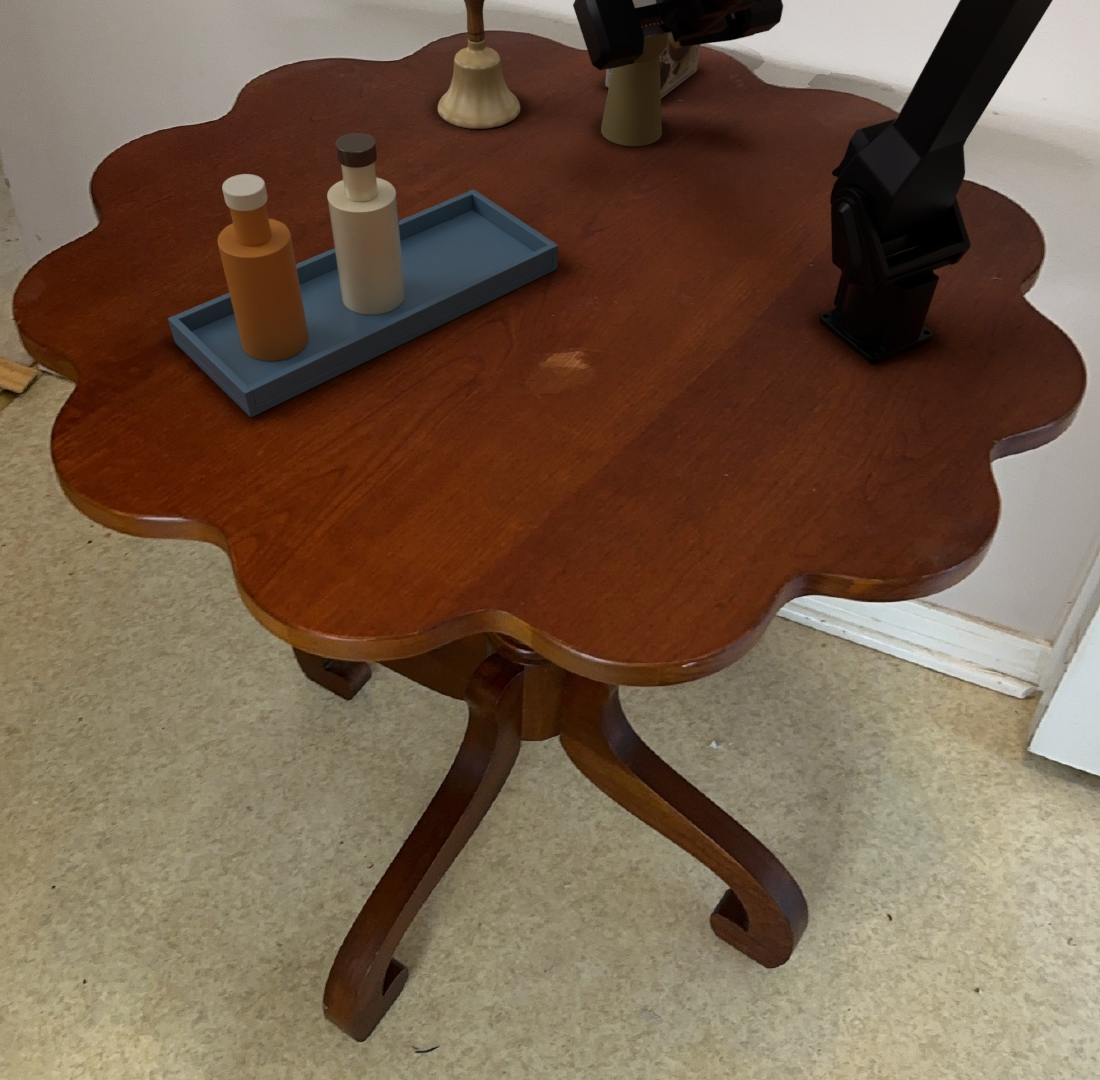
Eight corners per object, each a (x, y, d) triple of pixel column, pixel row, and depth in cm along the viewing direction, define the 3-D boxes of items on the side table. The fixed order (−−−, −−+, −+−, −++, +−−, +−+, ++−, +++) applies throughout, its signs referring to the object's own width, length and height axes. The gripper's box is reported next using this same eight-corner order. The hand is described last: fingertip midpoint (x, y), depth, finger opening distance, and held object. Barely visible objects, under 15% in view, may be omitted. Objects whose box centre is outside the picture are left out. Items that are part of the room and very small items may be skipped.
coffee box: (657, 105, 111) (674, -67, 99) (603, 87, 113) (613, -83, 101) (699, 71, 116) (720, -96, 104) (646, 56, 118) (661, -110, 106)
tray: (474, 212, 97) (473, 188, 95) (557, 269, 91) (558, 245, 89) (174, 342, 84) (167, 318, 82) (250, 418, 78) (244, 393, 76)
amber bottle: (319, 348, 82) (292, 192, 73) (256, 369, 80) (220, 212, 71) (293, 313, 85) (265, 158, 75) (232, 333, 83) (194, 176, 74)
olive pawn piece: (657, 149, 105) (669, 33, 97) (595, 142, 106) (602, 26, 97) (666, 120, 109) (677, 6, 101) (606, 112, 110) (613, -1, 101)
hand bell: (459, 136, 106) (452, -39, 94) (424, 100, 110) (412, -71, 99) (535, 118, 108) (537, -54, 97) (497, 83, 113) (494, -85, 101)
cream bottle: (416, 303, 86) (403, 149, 77) (357, 322, 84) (337, 167, 75) (388, 271, 89) (373, 119, 79) (331, 288, 87) (308, 135, 78)
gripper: (788, -151, 89) (695, -54, 103) (590, -119, 82) (521, -19, 97) (828, -15, 90) (731, 63, 105) (637, 28, 84) (561, 104, 98)
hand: (638, 50), depth 101 cm, fingers open, 9 cm apart
